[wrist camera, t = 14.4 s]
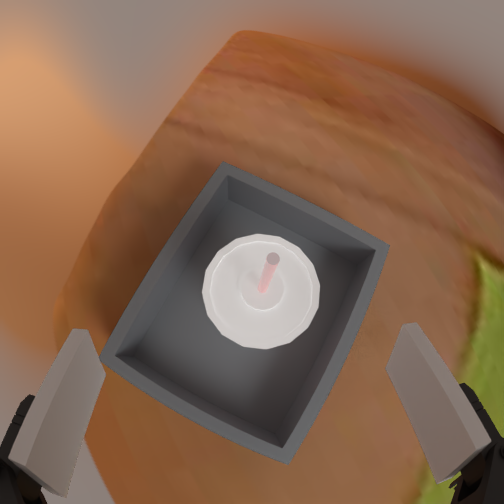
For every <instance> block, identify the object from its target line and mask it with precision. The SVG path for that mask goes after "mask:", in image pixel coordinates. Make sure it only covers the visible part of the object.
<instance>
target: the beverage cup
mask: <svg viewBox="0 0 504 504" xmlns="http://www.w3.org/2000/svg"><path fill="white" fill-rule="evenodd" d="M319 293H320V284H319V280H318V277H317V274H316V271H315V268H314V265H313V263H312V262H311V261H310V260H309V259H308V258H307V256H306V255H305V254H304V253H303V252H302V250H301V249H300V248H299V247H297V246H296V245H294V244H292V243H290V242H288V241H286V240H285V239H283V238H281V237H278V236H271V235H264V234H254V235H250V236H245V237H241V238H237V239H235V240H233V241H232V242H231V243H229V244H228V245H226V246H225V247H223V248H222V249H221V250H219V251H218V252H217V253H216V255H215V257H214V258H213V260H212V261H211V263H210V264H209V266H208V267H207V269H206V272H205V277H204V283H203V289H202V295H203V299H204V303H205V308H206V312H207V315H208V317H209V318H210V319H211V321H212V322H213V323H214V325H215V326H216V327H217V329H218V330H219V331H220V333H221V334H222V335H223V336H225V337H227V338H229V339H230V340H232V341H234V342H236V343H237V344H239V345H241V346H243V347H250V348H258V349H270V348H273V347H277V346H280V345H284V344H287V343H290V342H291V341H293V340H294V339H295V338H296V337H297V336H299V335H300V334H301V333H302V332H304V331H305V330H306V329H307V328H308V327H309V325H310V323H311V321H312V319H313V317H314V315H315V313H316V311H317V309H318V307H319Z"/></svg>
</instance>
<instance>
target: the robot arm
mask: <svg viewBox="0 0 504 504" xmlns="http://www.w3.org/2000/svg"><path fill="white" fill-rule="evenodd" d="M385 369H386V371H387V373H388V375H389V377H390V379H391V381H392V383H393V385H394V388H395V390H396V392H397V394H398V396H399V398H400V400H401V402H402V404H403V407H404V409H405V411H406V413H407V415H408V417H409V420H410V422H411V424H412V426H413V429H414V431H415V433H416V435H417V438H418V440H419V442H420V445H421V447H422V449H423V452H424V454H425V456H426V459H427V461H428V464H429V466H430V469H431V471H432V473H433V476H434V479H435V481H436V484H439V483H441V482H443V481H445V480H448V479H450V478H452V477H453V476H454V475H456V474H457V473H458V472H459V471H461V474H462V475H461V476H459V477H458V478H457V479H456V480H454V481H453V482H452V483H451V484H450V486H449V488H452V487H453V486H455V485H456V484H457V486H456V487H455V488H454V489H455V492H454V495H453V498H452V501H451V504H504V438H502V437H501V435H500V434H499V432H498V431H497V429H496V427H495V425H494V424H493V422H492V420H491V419H490V417H489V415H488V413H487V412H486V410H485V409H483V405H482V404H481V402H479V399H478V397H477V396H476V394H475V392H474V391H473V390H472V389H471V388H470V387H469V386H468V385H466V384H465V383H462V384H458V383H457V381H456V379H455V378H454V376H453V375H452V373H451V372H450V370H449V369H448V367H447V366H446V364H445V363H444V361H443V360H442V358H441V357H440V355H439V354H438V352H437V351H436V349H435V348H434V346H433V345H432V343H431V342H430V341H429V339H428V338H427V336H426V335H425V333H424V332H423V331H422V329H421V328H420V326H419V325H418V324H417V322H416V323H408V324H402V327H401V330H400V333H399V335H398V338H397V341H396V343H395V346H394V348H393V351H392V353H391V356H390V358H389V361H388V363H387V366H386V368H385ZM105 376H106V373H105V371H104V369H103V366H102V364H101V362H100V359H99V357H98V355H97V352H96V350H95V347H94V345H93V342H92V339H91V337H90V334H89V331H88V330H84V329H74V328H73V330H72V331H71V333H70V335H69V336H68V338H67V340H66V341H65V343H64V345H63V346H62V348H61V350H60V352H59V353H58V355H57V357H56V359H55V360H54V362H53V364H52V366H51V368H50V370H49V371H48V373H47V375H46V377H45V379H44V381H43V383H42V385H41V386H40V389H39V391H38V392H37V394H36V396H33V395H28V396H27V397H26V398H25V399H24V400H23V401H22V402H21V403H20V405H19V407H18V409H17V411H16V415H14V417H13V419H12V423H11V424H10V426H9V428H8V430H7V433H6V435H5V437H4V439H3V441H2V444H1V446H0V504H47V502H46V500H45V498H44V495H43V494H42V492H41V487H43V488H45V489H46V490H48V491H49V492H51V493H53V494H56V495H59V496H61V497H64V498H66V497H67V494H68V490H69V486H70V482H71V478H72V475H73V471H74V468H75V464H76V460H77V457H78V454H79V451H80V447H81V444H82V441H83V438H84V435H85V432H86V429H87V426H88V423H89V420H90V417H91V414H92V411H93V409H94V406H95V403H96V400H97V397H98V395H99V392H100V389H101V387H102V384H103V381H104V379H105Z"/></svg>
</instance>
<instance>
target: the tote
mask: <svg viewBox="0 0 504 504" xmlns="http://www.w3.org/2000/svg"><path fill="white" fill-rule="evenodd" d="M254 234H264V235H271V236H278V237H281V238H283V239H285V240H286V241H288V242H290V243H292V244H294V245H296V246H297V247H299V248H300V249H301V250H302V252H303V253H304V254H305V255H306V256H307V258H308V259H309V260H310V261H311V262H312V263H313V265H314V268H315V271H316V274H317V277H318V280H319V284H320V293H319V307H318V309H317V311H316V313H315V315H314V317H313V319H312V321H311V323H310V325H309V327H308V328H307V329H306V330H305V331H304V332H302V333H301V334H300V335H299V336H297V337H296V338H295V339H294V340H293V341H291V342H290V343H287V344H284V345H280V346H277V347H273V348H270V349H258V348H250V347H243V346H241V345H239V344H237V343H236V342H234V341H232V340H230V339H229V338H227V337H225V336H223V335H222V334H221V333H220V331H219V330H218V329H217V327H216V326H215V325H214V323H213V322H212V321H211V319H210V318H209V317H208V315H207V312H206V308H205V303H204V299H203V295H202V289H203V283H204V277H205V272H206V269H207V267H208V266H209V264H210V263H211V261H212V260H213V258H214V257H215V255H216V253H217V252H218V251H219V250H221V249H222V248H223V247H225V246H226V245H228V244H229V243H231V242H232V241H233V240H235V239H237V238H241V237H245V236H250V235H254ZM389 247H390V245H389V244H387V243H385V242H383V241H381V240H380V239H378V238H376V237H374V236H373V235H371V234H369V233H367V232H365V231H364V230H362V229H360V228H358V227H356V226H354V225H353V224H351V223H349V222H347V221H345V220H343V219H341V218H339V217H338V216H336V215H334V214H332V213H330V212H328V211H326V210H324V209H322V208H320V207H318V206H316V205H314V204H312V203H310V202H308V201H306V200H304V199H302V198H300V197H298V196H296V195H294V194H292V193H290V192H288V191H286V190H284V189H282V188H280V187H278V186H276V185H274V184H272V183H269V182H267V181H265V180H263V179H261V178H259V177H257V176H254V175H252V174H250V173H248V172H246V171H244V170H241V169H239V168H237V167H235V166H232V165H230V164H228V163H226V162H222V163H221V164H220V166H219V167H218V169H217V170H216V171H215V173H214V174H213V175H212V177H211V178H210V180H209V181H208V182H207V184H206V185H205V187H204V188H203V189H202V191H201V192H200V194H199V195H198V197H197V198H196V199H195V201H194V202H193V204H192V205H191V207H190V208H189V209H188V211H187V212H186V214H185V215H184V217H183V218H182V220H181V221H180V223H179V224H178V226H177V227H176V229H175V230H174V232H173V233H172V235H171V236H170V238H169V239H168V241H167V242H166V244H165V246H164V247H163V249H162V250H161V252H160V253H159V255H158V256H157V258H156V260H155V261H154V263H153V264H152V266H151V268H150V269H149V271H148V272H147V274H146V276H145V277H144V279H143V281H142V282H141V284H140V285H139V287H138V289H137V290H136V292H135V294H134V295H133V297H132V299H131V301H130V302H129V304H128V306H127V307H126V309H125V311H124V313H123V314H122V316H121V318H120V320H119V321H118V323H117V325H116V327H115V328H114V330H113V332H112V334H111V336H110V337H109V339H108V341H107V343H106V345H105V347H104V348H103V350H102V352H101V354H100V356H99V359H100V361H101V362H102V363H104V364H105V365H106V366H108V367H109V368H110V369H112V370H113V371H114V372H116V373H117V374H119V375H120V376H121V377H123V378H124V379H126V380H127V381H128V382H130V383H131V384H133V385H134V386H136V387H137V388H139V389H140V390H142V391H143V392H145V393H146V394H148V395H149V396H151V397H153V398H154V399H156V400H157V401H159V402H161V403H162V404H164V405H165V406H167V407H169V408H170V409H172V410H174V411H176V412H177V413H179V414H181V415H183V416H184V417H186V418H188V419H190V420H191V421H193V422H195V423H197V424H199V425H201V426H203V427H204V428H206V429H208V430H210V431H212V432H214V433H216V434H218V435H220V436H222V437H224V438H226V439H228V440H230V441H233V442H235V443H237V444H239V445H241V446H243V447H246V448H248V449H250V450H252V451H255V452H257V453H259V454H262V455H264V456H267V457H269V458H272V459H274V460H277V461H279V462H282V463H285V464H287V465H289V463H290V461H291V460H292V458H293V457H294V455H295V453H296V452H297V450H298V448H299V447H300V445H301V443H302V442H303V440H304V438H305V437H306V435H307V433H308V431H309V430H310V428H311V426H312V424H313V423H314V421H315V419H316V417H317V415H318V414H319V412H320V410H321V408H322V406H323V404H324V402H325V400H326V399H327V397H328V395H329V393H330V391H331V389H332V387H333V385H334V383H335V381H336V379H337V377H338V375H339V373H340V370H341V368H342V366H343V364H344V362H345V360H346V358H347V356H348V353H349V351H350V349H351V347H352V344H353V342H354V340H355V338H356V335H357V333H358V331H359V328H360V326H361V323H362V321H363V318H364V316H365V314H366V311H367V309H368V306H369V303H370V301H371V298H372V296H373V293H374V290H375V288H376V285H377V282H378V279H379V277H380V274H381V271H382V268H383V265H384V262H385V259H386V256H387V253H388V250H389Z"/></svg>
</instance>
